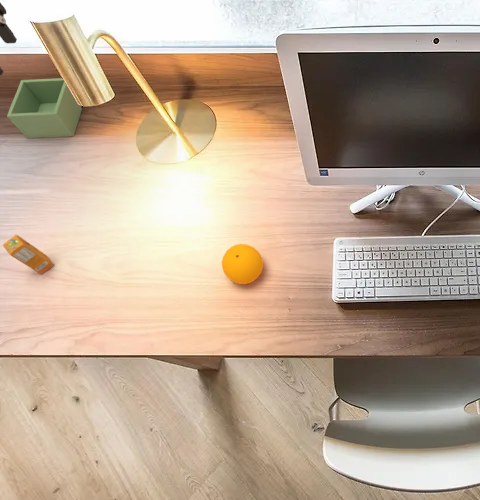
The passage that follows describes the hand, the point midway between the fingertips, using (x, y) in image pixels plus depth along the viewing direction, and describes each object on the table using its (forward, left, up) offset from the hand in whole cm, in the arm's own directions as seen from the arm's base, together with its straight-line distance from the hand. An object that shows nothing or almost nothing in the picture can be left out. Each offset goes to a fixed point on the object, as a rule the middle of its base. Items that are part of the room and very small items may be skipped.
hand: (5, 57), depth 93 cm
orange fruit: (+42, -33, -28) cm, 60 cm away
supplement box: (-1, -30, -28) cm, 41 cm away
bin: (-9, +11, -28) cm, 31 cm away
